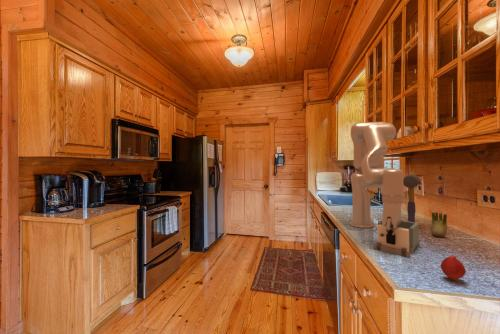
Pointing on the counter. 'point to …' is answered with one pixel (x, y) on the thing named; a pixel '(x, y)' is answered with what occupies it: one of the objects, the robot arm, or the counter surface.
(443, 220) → the fennel bulb
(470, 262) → the counter surface
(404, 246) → the door
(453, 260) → the onion
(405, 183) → the rubber mallet
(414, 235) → the cabinet
